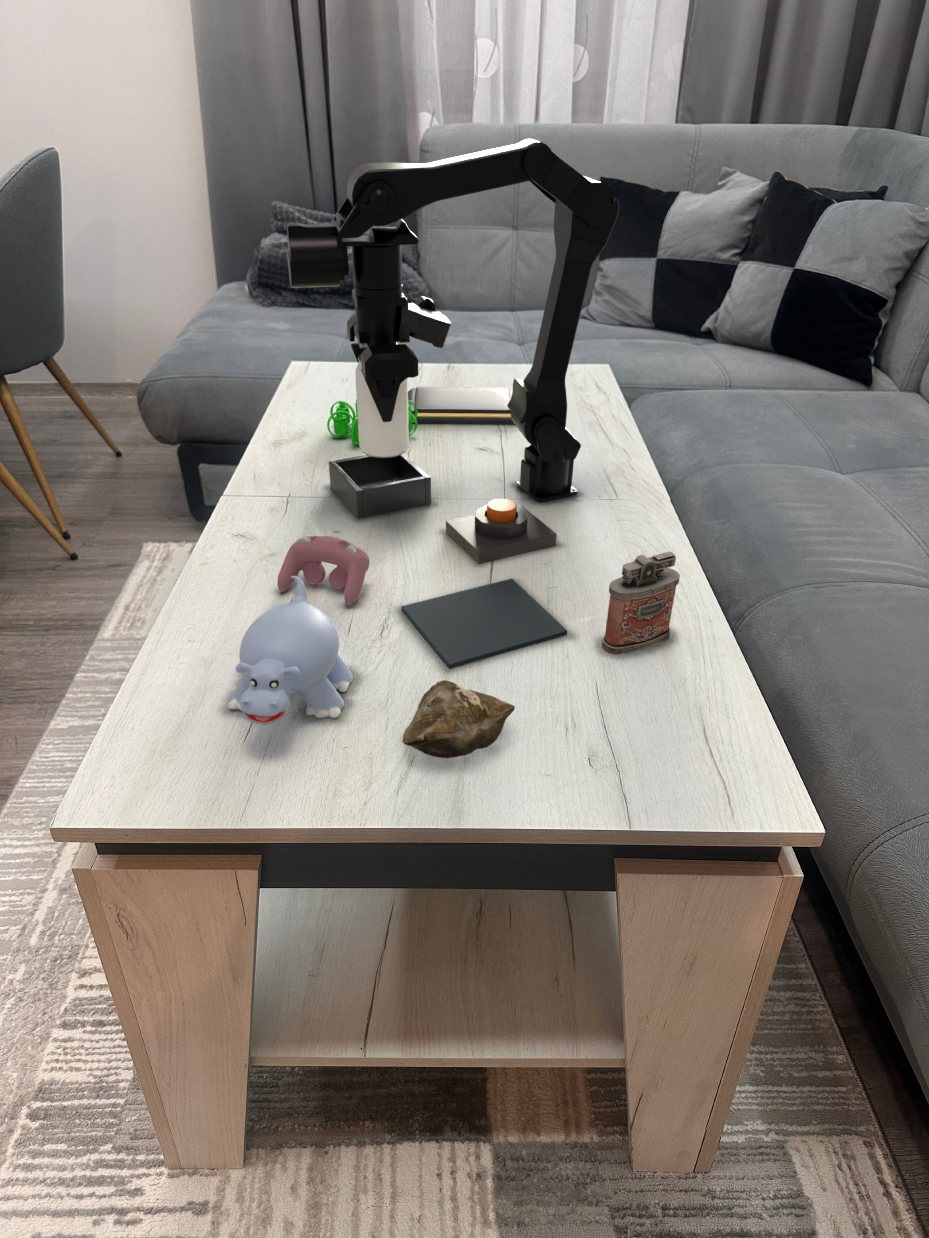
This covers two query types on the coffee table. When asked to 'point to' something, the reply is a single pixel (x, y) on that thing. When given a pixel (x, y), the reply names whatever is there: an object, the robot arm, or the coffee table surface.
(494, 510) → the button
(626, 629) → the lighter
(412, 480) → the box
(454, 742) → the fossilized seashell
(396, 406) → the can
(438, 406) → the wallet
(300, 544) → the video game controller
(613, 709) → the coffee table surface
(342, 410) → the chandelier
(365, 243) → the robot arm
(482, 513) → the button box
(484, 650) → the mat
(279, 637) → the hippopotamus toy
